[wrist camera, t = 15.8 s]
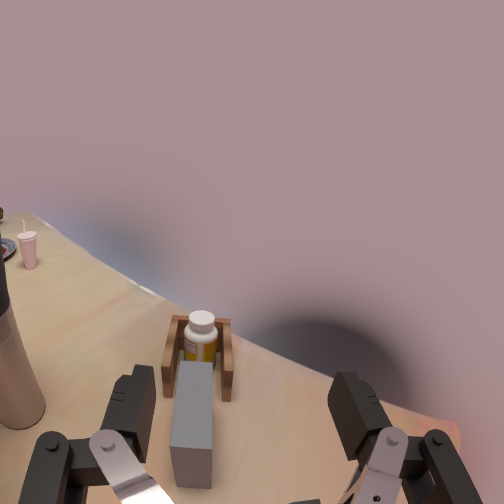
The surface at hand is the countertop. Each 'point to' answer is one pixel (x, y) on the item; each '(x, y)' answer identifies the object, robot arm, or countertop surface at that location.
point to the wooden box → (177, 342)
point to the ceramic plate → (7, 246)
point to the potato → (1, 213)
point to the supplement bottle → (200, 338)
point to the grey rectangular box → (192, 426)
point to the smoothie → (28, 247)
